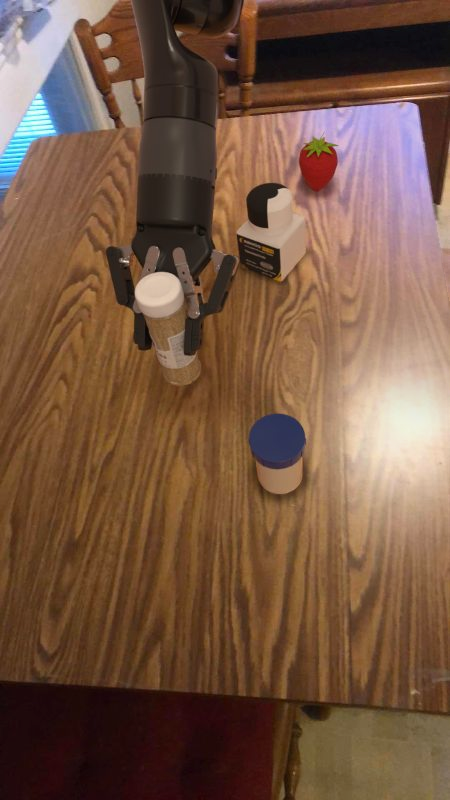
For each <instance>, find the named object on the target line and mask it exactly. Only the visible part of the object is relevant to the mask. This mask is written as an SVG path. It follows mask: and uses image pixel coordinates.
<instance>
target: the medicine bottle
mask: <svg viewBox="0 0 450 800" xmlns="http://www.w3.org/2000/svg"><path fill="white" fill-rule="evenodd" d="M245 202H246V203H245V204H246V211H247V219H246V220H245V221H244V223H243V224H242V225H241V226H240V227H239V228H238V229H237V230H236V232H235V233H236V234H235V235H236V242H237V249H238V250H237V251H238V258H239V259H240V265H239V267H241V268H243V269H246V270H248V271H252V272H254V273H256V274H259V275H262V276H264V277H267V278H269V279H271V280H275V281H277V282H283V281H284V280H285V279H286V277H287V276H288V275H289V274H290V273H291V271H293V269H294V268H295V266H296V265H297V264H298V263H299V262H300V261H301V259H302V258H303V257H304V256H305V254H306V253H307V218H306V216H304V215H302V214H300V213H296V212H294V211H293V210H294V209H293V207H294V206H293V193H292V191H291V189H289V188H288V187H287V186H286V185H284V184H281V183H279V182H265V183H260V184H259V185H256V186H255V187H253V188H252V189H251V190H249V192H248V193H247V195H246V198H245Z"/></svg>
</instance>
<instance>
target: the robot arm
mask: <svg viewBox="0 0 450 800" xmlns="http://www.w3.org/2000/svg"><path fill="white" fill-rule="evenodd" d="M130 3H131V6H132V12H133V15H134V16H133V17H134V20H135V25H136V29H137V34H138V40H139V44H140V51H141V57H142V66H143V77H144V83H143V85H144V87H143V88H144V89H143V108H142V110H143V111H142V128H141V136H140V141H139V148H138V165H137V166H138V167H137V169H138V170H137V189H136V190H137V191H136V193H137V194H136V212H135V213H136V215H135V224H136V225H135V226H136V231H135V234H134V236H133V238H132V240H131V242H130V243H128V244H125V245H120V246H114V245H113V246H112V245H110V246H107V248H105V249H106V250H105V256H106V260H107V265H108V270H109V273H110V278H111V281H112V282H111V283H112V286H113V290H114V295H115V298H116V302H117V304H118V305H120V306H124V307H126V308H128V309H130V310H131V311H132V312H133V335H132V337H133V338H132V339H133V343H134V344H135V345H137V349H138V351H143V352H147V351H150V350H152V348H153V342H152V339H151V337H150V334H149V329H148V326H147V323H146V320H145V317H144V315H143V313H142V312H141V310H140V309H139V307H138V304H137V301H136V297H135V288H136V287H135V284H134V280H133V275H132V270H131V267H132V265H133V263H134V257H135V258H136V259H137V262H138V264H139V265H140V266H141V268H142V270H141V274H140V277H139V280H138V282H139V281H140V280H141V279H143V278H144V277H145V276H147V275H149V274H152V273H156V272H167V273H171V274H173V275H175V276H176V277H177V278H178V279H179V281H180V283H181V286H182V289H183V293H184V303H185V307H186V312H187V315H188V317H189V319H186V321H185V338H184V355H186V356H193V355H195V354H196V351H200V350H201V348H202V346H203V339H204V327H205V325H204V324H205V319H206V318H207V317H209V316H211V315H215V314H219V313H222V312H223V310H224V308H225V306H226V302H227V300H228V297H229V295H230V292H231V289H232V286H233V285H234V281H235V279H236V276H237V274H238V271H239V268H240V258H239V256H237V255H235V254H228V253H226V252H222V251H220V250H218V249H216V248H217V247H216V245H215V242H214V240H213V225H214V224H213V223H214V211H215V210H214V209H215V192H216V180H217V179H218V167H217V165H218V148H217V147H218V146H217V124H218V111H219V110H218V109H219V97H220V75H219V71H218V69H217V68H216V66H215V65H214V64H213V63H212V61H210V60H208V59H207V58H205V57H204V56H202V55H201V54H198V52H197V53H196V52H195V51H193V50H192V49H190V48H189V47H187V46H186V45H185V44H184V43H183V42H182V41H181V40H180V38H179V36H178V34H177V32H180V33H184V34H188V35H192V36H196V37H200V38H203V39H208V40H217V39H220V38H223V37H224V36H226V35H228V34H229V33H230V32H232V30H233V29H235V28H236V26H237V25H238V22H239V20H240V18H241V16H242V12H243V8H244V4H245V0H130ZM211 261H213V271H214V273H215V274H216V277H215V279H214V283H213V285H212V287H211V291H210V293H209V295H208V296H209V297H208V299H207V302H205V298H204V288H203V283H202V278H201V274H202V273H203V272H204V270H205V269H206V268H207V266H208V265H209V264H210V263H211Z"/></svg>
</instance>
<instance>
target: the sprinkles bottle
mask: <svg viewBox="0 0 450 800" xmlns="http://www.w3.org/2000/svg"><path fill="white" fill-rule="evenodd" d="M139 280H140V279H139ZM139 280H138V282H137V283H136V286H135V287H134V288H135V297H136V301H137V304H138V307H139V309H140V310H141V312H142V313H143V315H144V317H145V320H146V323H147V326H148V329H149V334H150V337H151V339H152V346H153V348H154V351H155V354H156V358H157V360H158V362H159V364H160V365H159V366H160V367H161V372H162V373H161V374H162V376H163V379H164V380H165V381H166V382H167V383H168V384H170V385H172V386H177V387H183V386H188V385H190V384H192V383H193V382H195V381H196V380H197V379H198V378H199V377H200V375H201V372H202V364H201V361H200V360H199V356H198V352H197V351H198V350H197V351H196V354H195V355H193V356H186V355H184V338H185V321H186V319H189V315H188V311H187V307H186V303H185V298H184V293H183V289H182V286H181V283H180V281H179V279H178V278H177V277H176V276H175V275H173V274H171V273H167V272H156V273H152V274H149V275H147V276H145V277H144V278H143V279H141V280H140V281H139Z"/></svg>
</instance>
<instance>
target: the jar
mask: <svg viewBox="0 0 450 800" xmlns="http://www.w3.org/2000/svg"><path fill="white" fill-rule="evenodd" d="M303 460H304V459H303V457H301V459H300V460H299V461H298V462H297V463H295V464H294V465H292V466H290V467H288V468H285V469H278V470H277V469H270V468H267V467H264V466H262V465H261V464H259V463H258V462H257V461H256V460H255V459H254V462H255V468H256V474H257V479H258V482H259V484H260V486H262V488H263V489H265V490H266V491H268V492H269V493H271V494H276V495H284V494H288V493H291V492H293V491H294V490H296V489H297V488H298V487H299V485H300V484H301V482H302V480H303V474H304V469H303V468H304V467H303V464H304V463H303Z"/></svg>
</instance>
